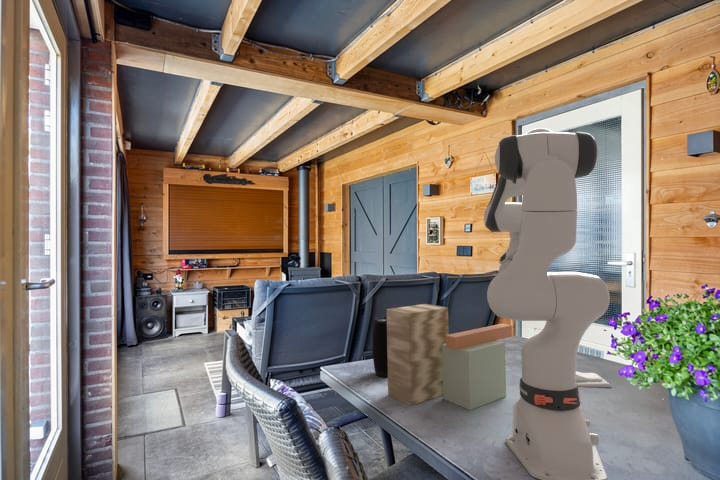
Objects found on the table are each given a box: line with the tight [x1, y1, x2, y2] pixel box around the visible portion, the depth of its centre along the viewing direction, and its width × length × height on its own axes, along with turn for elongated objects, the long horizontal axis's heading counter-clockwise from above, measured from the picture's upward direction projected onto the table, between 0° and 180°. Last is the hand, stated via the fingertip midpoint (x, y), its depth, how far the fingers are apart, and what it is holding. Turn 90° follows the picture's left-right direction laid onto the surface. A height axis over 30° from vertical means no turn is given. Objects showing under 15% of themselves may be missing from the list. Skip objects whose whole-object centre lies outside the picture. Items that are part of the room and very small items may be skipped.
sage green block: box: [442, 340, 507, 411], centre depth 119 cm, size 16×10×16 cm, turn 125°
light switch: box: [576, 370, 612, 388], centre depth 131 cm, size 11×4×13 cm
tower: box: [386, 303, 449, 406], centre depth 123 cm, size 16×10×26 cm, turn 125°
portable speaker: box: [371, 316, 388, 378], centre depth 142 cm, size 9×9×20 cm
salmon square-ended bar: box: [445, 323, 513, 350], centre depth 121 cm, size 26×4×4 cm, turn 125°
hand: (522, 290), depth 127 cm, fingers open, 8 cm apart
